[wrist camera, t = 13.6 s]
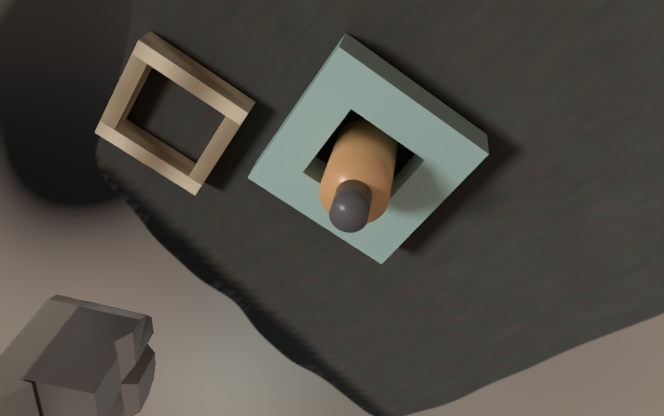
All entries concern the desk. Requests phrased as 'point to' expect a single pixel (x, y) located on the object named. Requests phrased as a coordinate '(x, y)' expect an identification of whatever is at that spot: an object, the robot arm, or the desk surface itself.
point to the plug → (358, 176)
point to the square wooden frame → (194, 80)
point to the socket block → (392, 118)
